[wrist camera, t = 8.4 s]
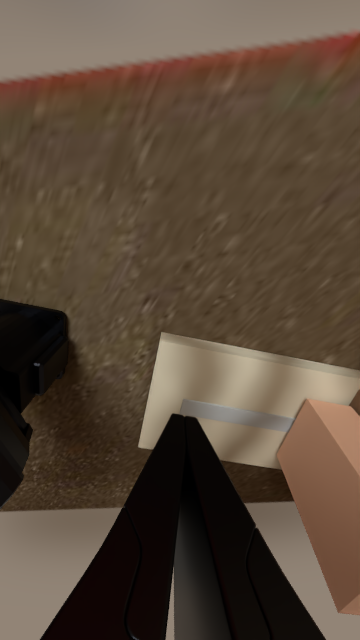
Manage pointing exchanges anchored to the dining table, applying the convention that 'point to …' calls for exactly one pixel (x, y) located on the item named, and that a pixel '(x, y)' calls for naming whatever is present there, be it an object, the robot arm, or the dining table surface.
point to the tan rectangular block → (328, 492)
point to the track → (239, 395)
